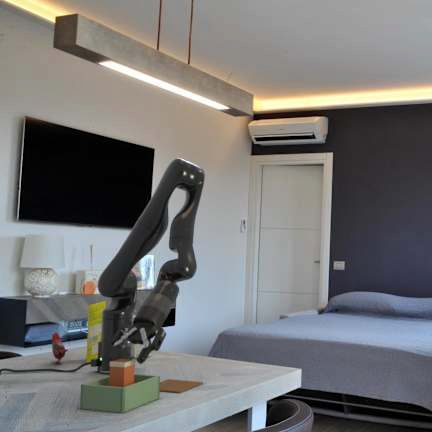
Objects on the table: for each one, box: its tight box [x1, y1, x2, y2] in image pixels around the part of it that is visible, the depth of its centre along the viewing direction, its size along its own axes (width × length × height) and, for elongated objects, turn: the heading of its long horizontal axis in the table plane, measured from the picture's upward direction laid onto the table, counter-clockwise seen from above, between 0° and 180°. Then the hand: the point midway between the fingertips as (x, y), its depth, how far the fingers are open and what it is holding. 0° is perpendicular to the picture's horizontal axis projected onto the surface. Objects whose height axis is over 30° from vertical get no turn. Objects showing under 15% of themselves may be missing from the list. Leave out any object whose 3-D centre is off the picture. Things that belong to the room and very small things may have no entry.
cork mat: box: [159, 378, 204, 394], centre depth 174 cm, size 12×12×1 cm
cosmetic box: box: [131, 314, 151, 359], centre depth 220 cm, size 8×6×15 cm
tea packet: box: [109, 359, 136, 387], centre depth 155 cm, size 5×4×11 cm
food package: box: [85, 300, 107, 363], centre depth 212 cm, size 15×1×20 cm, turn 5°
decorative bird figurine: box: [51, 332, 69, 365], centre depth 203 cm, size 3×18×10 cm, turn 43°
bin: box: [79, 373, 161, 414], centre depth 155 cm, size 13×15×6 cm
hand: (124, 361), depth 156 cm, fingers open, 8 cm apart
